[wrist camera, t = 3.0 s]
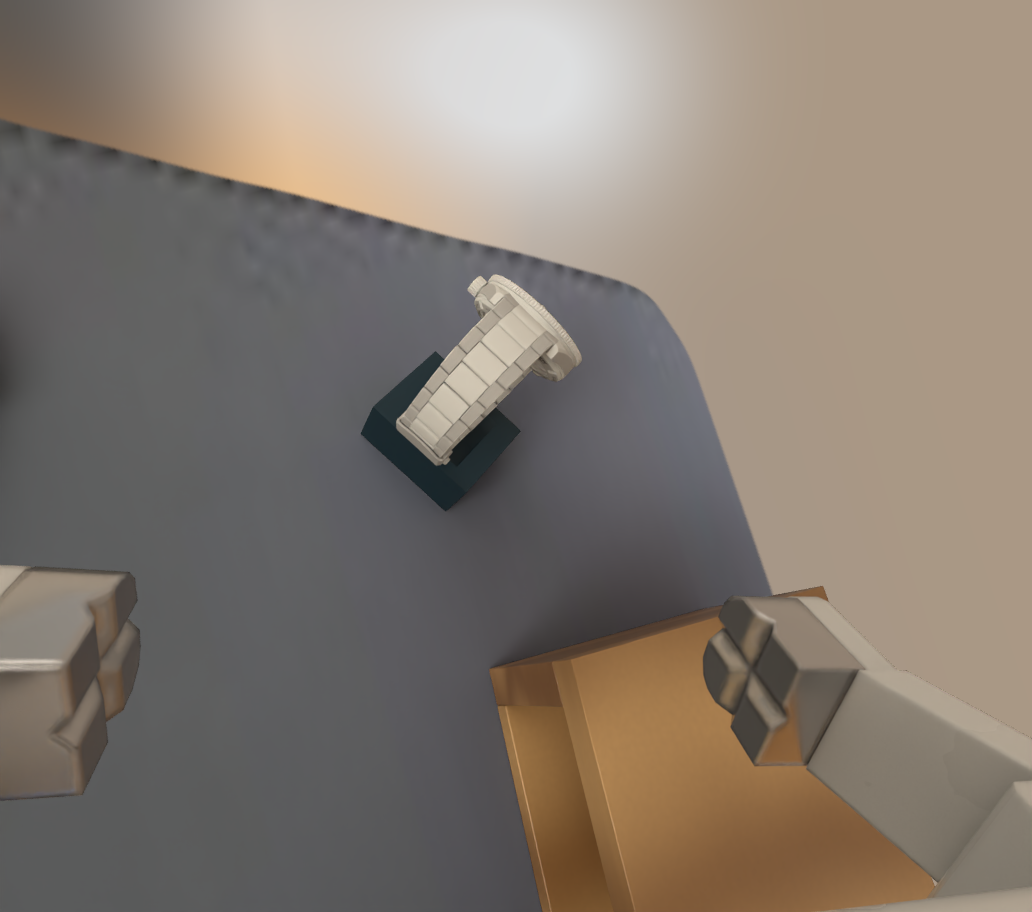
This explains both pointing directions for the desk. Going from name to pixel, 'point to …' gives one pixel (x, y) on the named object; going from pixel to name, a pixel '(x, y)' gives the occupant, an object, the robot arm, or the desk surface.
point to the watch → (469, 392)
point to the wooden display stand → (673, 790)
